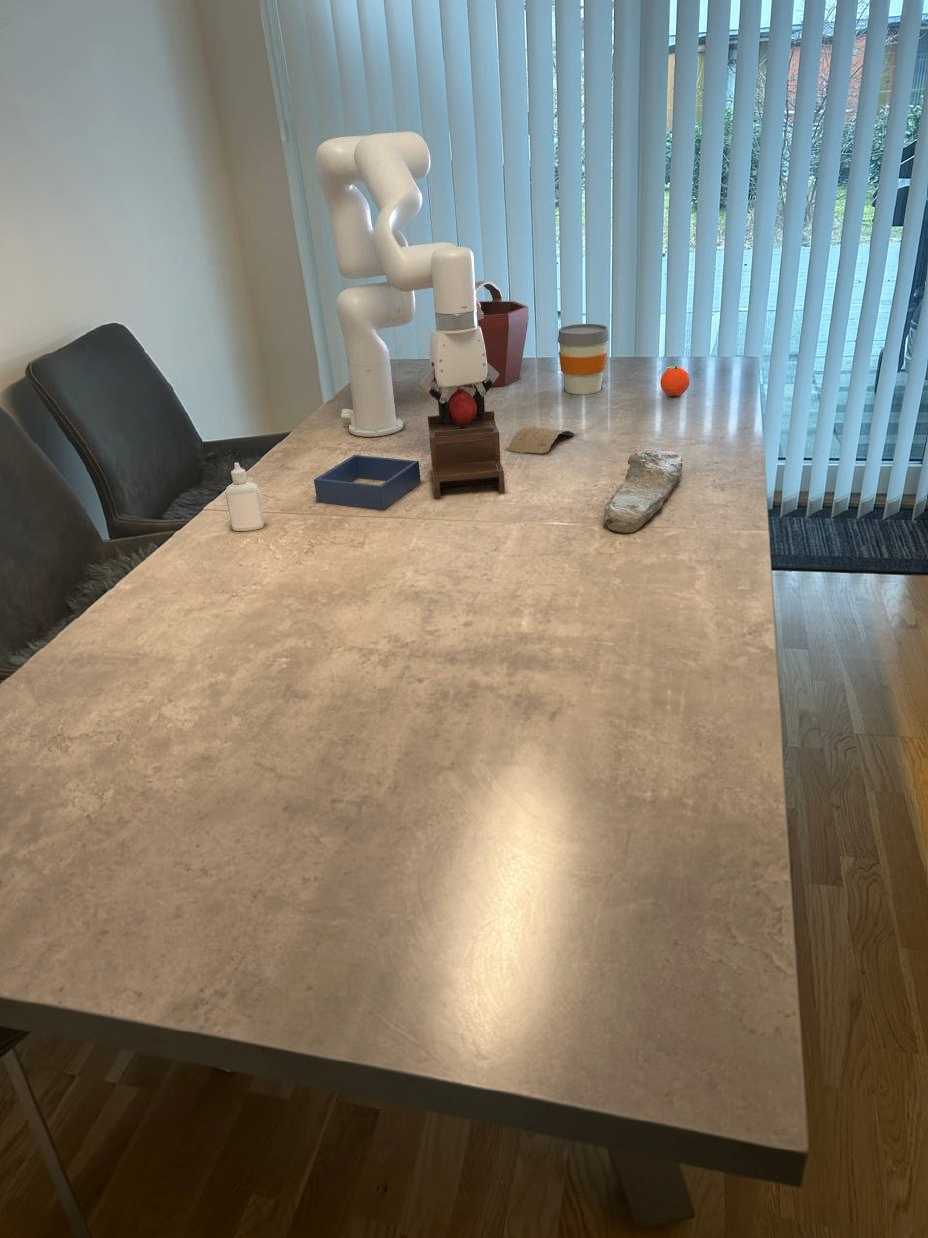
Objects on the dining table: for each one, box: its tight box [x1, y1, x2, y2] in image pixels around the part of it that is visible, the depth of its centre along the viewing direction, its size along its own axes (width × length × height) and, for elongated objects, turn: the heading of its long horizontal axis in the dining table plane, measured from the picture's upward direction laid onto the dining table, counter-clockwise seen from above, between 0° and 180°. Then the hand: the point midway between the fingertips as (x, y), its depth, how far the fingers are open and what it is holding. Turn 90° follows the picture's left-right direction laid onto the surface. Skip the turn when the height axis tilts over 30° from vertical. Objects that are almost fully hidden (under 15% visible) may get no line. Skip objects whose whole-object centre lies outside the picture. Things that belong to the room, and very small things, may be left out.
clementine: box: [657, 365, 691, 397], centre depth 214 cm, size 8×7×7 cm
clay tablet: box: [507, 425, 576, 454], centre depth 190 cm, size 14×10×3 cm
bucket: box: [462, 280, 530, 389], centre depth 235 cm, size 24×22×25 cm
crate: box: [313, 454, 422, 511], centre depth 169 cm, size 15×15×4 cm
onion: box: [447, 386, 477, 428], centre depth 168 cm, size 6×6×8 cm
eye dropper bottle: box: [224, 462, 265, 532], centre depth 156 cm, size 4×6×12 cm
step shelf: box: [427, 410, 506, 500], centre depth 169 cm, size 15×13×12 cm
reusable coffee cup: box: [557, 323, 610, 395], centre depth 222 cm, size 13×13×15 cm
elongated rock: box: [602, 450, 684, 534], centre depth 159 cm, size 35×5×10 cm
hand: (462, 418), depth 169 cm, fingers open, 6 cm apart
